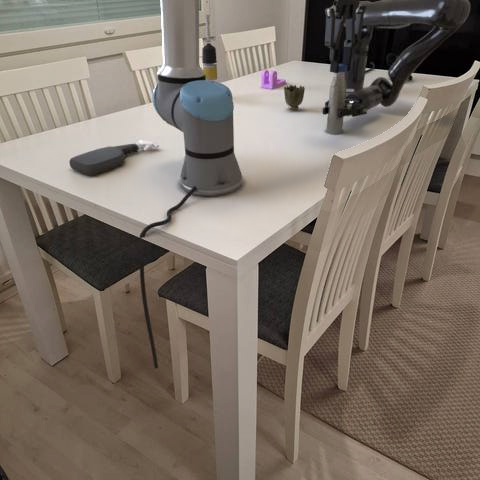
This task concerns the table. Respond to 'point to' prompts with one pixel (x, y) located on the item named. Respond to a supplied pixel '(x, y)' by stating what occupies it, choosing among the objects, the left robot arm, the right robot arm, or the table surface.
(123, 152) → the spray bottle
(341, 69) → the cap
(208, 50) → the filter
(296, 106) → the cup
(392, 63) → the squiggle
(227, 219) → the table surface
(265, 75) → the bracket
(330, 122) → the bottle
